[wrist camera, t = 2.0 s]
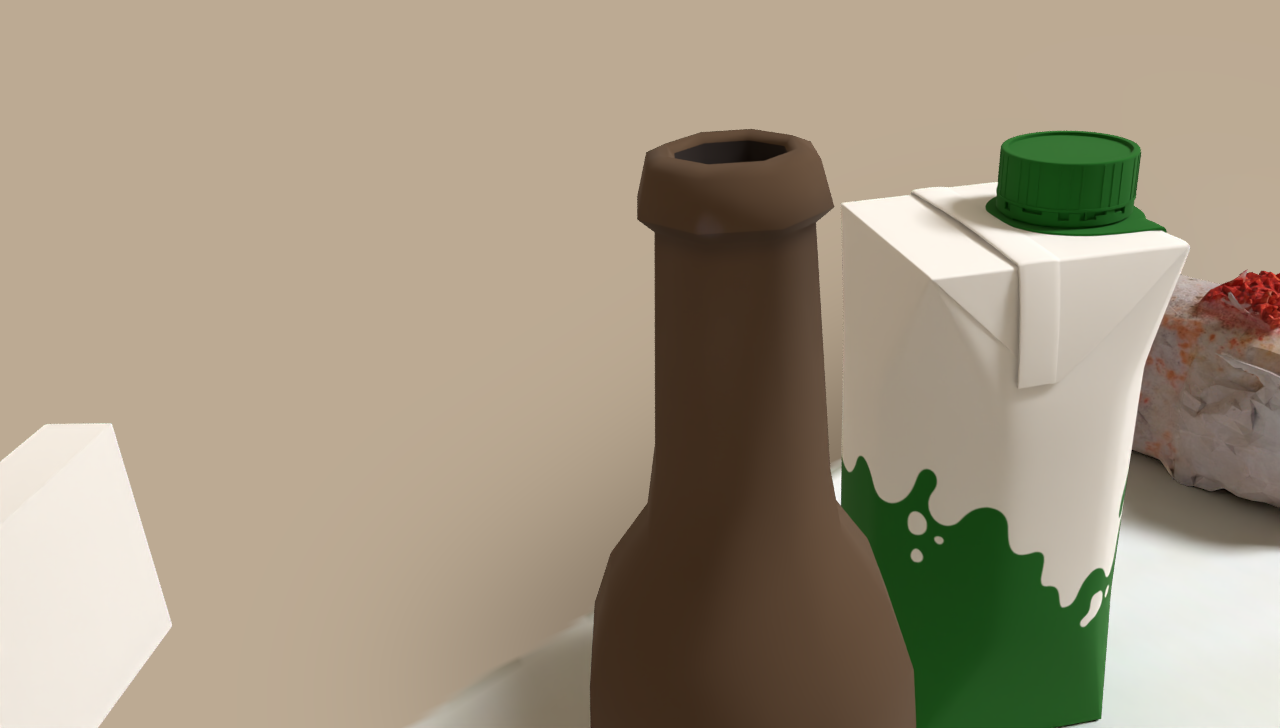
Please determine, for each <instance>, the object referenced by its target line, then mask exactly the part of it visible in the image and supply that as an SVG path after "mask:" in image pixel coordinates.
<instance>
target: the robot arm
mask: <svg viewBox="0 0 1280 728" xmlns="http://www.w3.org/2000/svg"><path fill="white" fill-rule="evenodd" d="M171 627H172V623H171V620H170V617H169V613H168V610H167V606H166V603H165V600H164V597H163V594H162V590H161V586H160V583H159V580H158V576H157V573H156V570H155V567H154V563H153V560H152V556H151V553H150V550H149V547H148V543H147V540H146V536H145V533H144V530H143V527H142V523H141V520H140V516H139V513H138V510H137V506H136V503H135V500H134V496H133V493H132V490H131V486H130V483H129V480H128V477H127V474H126V470H125V467H124V463H123V460H122V456H121V454H120V450H119V446H118V443H117V440H116V437H115V433H114V430H113V426H112V423H108V424H107V423H105V424H104V423H102V424H45V425H44V426H43V427H42V428H40V429H39V430H38V431H37V432H36V433H34V434H33V435H32V436H31V437H30V438H28V439H27V440H26V441H25V442H23V443H22V444H21V445H20V446H19V447H17V448H16V449H15V450H14V451H13V452H11V453H10V454H9V455H8V456H7V457H5V458H4V459H3V460H2V461H1V462H0V728H98V727H99V725H100V724H101V723H102V721H103V720H104V718H105V717H106V716H107V714H108V713H109V712H110V710H111V709H112V708H113V706H114V705H115V703H116V702H117V701H118V699H119V698H120V697H121V695H122V694H123V692H124V691H125V690H126V688H127V687H128V686H129V684H130V683H131V682H132V680H133V679H134V677H135V676H136V675H137V673H138V672H139V671H140V669H141V668H142V666H143V665H144V663H145V662H146V661H147V660H148V658H149V657H150V655H151V654H152V653H153V651H154V650H155V648H156V647H157V646H158V645H159V643H160V642H161V640H162V639H163V638H164V636H165V635H166V633H167V632H168V631H169V629H170V628H171Z"/></svg>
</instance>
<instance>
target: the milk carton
mask: <svg viewBox="0 0 1280 728" xmlns="http://www.w3.org/2000/svg"><path fill="white" fill-rule="evenodd" d="M1140 151H1141V150H1140V147H1139V146H1138V145H1137V144H1136V143H1135V142H1133V141H1131V140H1128V139H1125V138H1122V137H1118V136H1114V135H1109V134H1102V133H1095V132H1084V131H1047V132H1036V133H1029V134H1024V135H1019V136H1016V137H1013V138H1010V139H1008V140H1006V141H1005V142H1004V143H1003V144H1002V146H1001V152H1000V163H999V164H1000V165H999V175H998V182H994V183H985V184H975V185H966V186H957V187H950V188H945V187H931V188H923V189H917V190H913V191H912V192H911V195H906V196H897V197H889V198H881V199H872V200H863V201H855V202H847V203H841V224H842V270H843V403H842V408H843V409H842V477H841V507H842V508H843V509H844V510H845V512H846V513H847V514H848V515H849V517H850V518H851V519H852V520H853V521H854V523H855V524H856V525H857V526H858V527H859V529H860V530H861V531H862V532H863V534H864V535H865V536H866V537H867V538H868V541H869V543H870V546H871V549H872V551H873V554H874V557H875V559H876V562H877V565H878V567H879V570H880V573H881V575H882V578H883V581H884V583H885V586H886V589H887V592H888V595H889V598H890V601H891V604H892V607H893V610H894V613H895V616H896V619H897V622H898V624H899V627H900V630H901V633H902V636H903V639H904V642H905V645H906V648H907V651H908V654H909V657H910V660H911V663H912V666H913V669H914V687H915V710H916V728H1054V727H1060V726H1065V725H1071V724H1076V723H1081V722H1087V721H1092V720H1098V719H1101V713H1102V699H1103V687H1104V674H1105V661H1106V648H1107V635H1108V622H1109V609H1110V597H1111V586H1112V579H1113V572H1114V565H1115V558H1116V551H1117V544H1118V538H1119V531H1120V524H1121V517H1122V510H1123V504H1124V497H1125V490H1126V483H1127V476H1128V470H1129V463H1130V456H1131V450H1132V443H1133V436H1134V429H1135V423H1136V416H1137V409H1138V403H1139V396H1140V390H1141V384H1142V377H1143V371H1144V366H1145V363H1146V359H1147V357H1148V354H1149V352H1150V349H1151V346H1152V344H1153V341H1154V339H1155V336H1156V334H1157V331H1158V328H1159V326H1160V323H1161V321H1162V318H1163V316H1164V313H1165V311H1166V308H1167V306H1168V303H1169V301H1170V298H1171V296H1172V293H1173V291H1174V288H1175V286H1176V283H1177V281H1178V278H1179V276H1180V273H1181V270H1182V268H1183V265H1184V263H1185V261H1186V258H1187V255H1188V253H1189V250H1190V246H1189V245H1188V243H1187V242H1185V241H1184V240H1182V239H1180V238H1178V237H1175V236H1172V235H1170V234H1167V233H1166V229H1165V228H1164V227H1162V226H1160V225H1159V224H1156V223H1155V222H1152V221H1149V220H1147V219H1146V218H1145V215H1144V213H1143V212H1142V211H1141V210H1139V209H1138V208H1137V207H1135V206H1134V200H1135V198H1136V190H1137V182H1138V173H1139V166H1140V157H1141V152H1140Z"/></svg>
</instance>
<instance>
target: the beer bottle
mask: <svg viewBox="0 0 1280 728" xmlns="http://www.w3.org/2000/svg"><path fill="white" fill-rule="evenodd" d="M637 198H638V199H637V200H638V201H637V203H638V204H637V205H638V206H637V207H638V209H637V216H638V217H637V219H638V220H639V221H640V222H642V223H643V224H644V225H646V226H647V227H648V228H650V229H651V230H653V231H654V232H655V449H654V457H653V465H652V473H651V481H650V489H649V497H648V503H647V505H646V506H645V507H644V509H643V510H642V511H641V513H640V514H639V516H638V517H637V518H636V520H635V521H634V522H633V524H632V525H631V526H630V528H629V529H628V530H627V532H626V533H625V534H624V536H623V537H622V538H621V540H620V542H619V543H618V544H617V545H616V547H615V548H614V549H613V551H612V552H611V554H610V557H609V560H608V563H607V567H606V570H605V573H604V576H603V579H602V582H601V586H600V588H599V591H598V595H597V598H596V601H595V609H594V627H593V645H592V662H591V680H590V711H591V728H916V710H915V687H914V669H913V666H912V663H911V660H910V657H909V654H908V651H907V648H906V645H905V642H904V639H903V636H902V633H901V630H900V627H899V624H898V622H897V619H896V616H895V613H894V610H893V607H892V604H891V601H890V598H889V595H888V592H887V589H886V586H885V583H884V581H883V578H882V575H881V573H880V570H879V567H878V565H877V562H876V559H875V557H874V554H873V551H872V549H871V546H870V543H869V541H868V538H867V537H866V536H865V535H864V534H863V532H862V531H861V530H860V529H859V527H858V526H857V525H856V524H855V523H854V521H853V520H852V519H851V518H850V517H849V515H848V514H847V513H846V512H845V510H844V509H843V508H842V507H841V506H840V504H839V503H838V502H837V501H836V497H835V492H834V487H833V481H832V476H831V471H830V460H829V459H830V457H829V440H828V424H827V406H826V389H825V371H824V354H823V337H822V320H821V303H820V287H819V269H818V251H817V236H816V222H817V221H818V220H819V219H821V218H822V217H823V216H824V215H825V214H826V213H828V212H829V211H830V210H831V209H832V208H834V205H833V201H832V197H831V193H830V190H829V187H828V182H827V179H826V175H825V171H824V168H823V164H822V161H821V158H820V156H819V155H818V153H817V151H816V150H815V148H814V146H813V145H812V143H811V142H810V141H807V140H804V139H801V138H798V137H796V136H793V135H787V134H780V133H774V132H767V131H761V130H754V129H744V130H729V131H714V132H700V133H697V134H694V135H691V136H688V137H685V138H681V139H679V140H675V141H672V142H669V143H666V144H664V145H661V146H659V147H657V148H655V149H653V150H650V151H648V152H646V157H645V162H644V166H643V171H642V177H641V182H640V186H639V191H638V196H637Z"/></svg>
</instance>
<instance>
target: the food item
mask: <svg viewBox="0 0 1280 728" xmlns="http://www.w3.org/2000/svg"><path fill="white" fill-rule="evenodd" d="M1132 450H1135V451H1137V452H1140V453H1142V454H1145V455H1148V456H1150V457H1153V458H1155V459H1158V460H1160V461H1161V462H1162V464H1163V465H1164V466H1165V468H1166V469H1167V471H1168V472H1169V474H1170V475H1171V477H1172V478H1173V479H1175V480H1176V481H1178V482H1179V483H1180V484H1183V485H1186V486H1188V487H1189V486H1195V487H1199V488H1202V489H1205V490H1208V491H1214V490H1218V489H1222V488H1225V489H1226V490H1228V491H1230V492H1231V493H1233V494H1234V495H1236V496H1238V497H1241V498H1245V499H1248V500H1252V501H1258V502H1265V503H1268V504H1270V505H1273V506H1275V507H1278V508H1280V273H1279V274H1277V275H1275V274H1273V273H1272V272H1266V271H1261V272H1260V273H1259V275H1258V274H1255V273H1253V272H1250V273H1247V270H1245V271H1244V272H1243V273H1241V274H1240V276H1238V277H1237V278H1235V279H1234V280H1232V281H1230V282H1227V283H1224V284H1217V283H1212V282H1209V281H1205V280H1200V279H1195V278H1191V277H1188V276H1185V275H1182V274H1180V276H1179V278H1178V281H1177V283H1176V286H1175V288H1174V291H1173V293H1172V296H1171V298H1170V301H1169V303H1168V306H1167V308H1166V311H1165V313H1164V316H1163V318H1162V321H1161V323H1160V326H1159V328H1158V331H1157V334H1156V336H1155V339H1154V341H1153V344H1152V346H1151V349H1150V352H1149V354H1148V357H1147V359H1146V363H1145V366H1144V371H1143V377H1142V384H1141V390H1140V396H1139V403H1138V409H1137V416H1136V423H1135V429H1134V436H1133V443H1132Z"/></svg>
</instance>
